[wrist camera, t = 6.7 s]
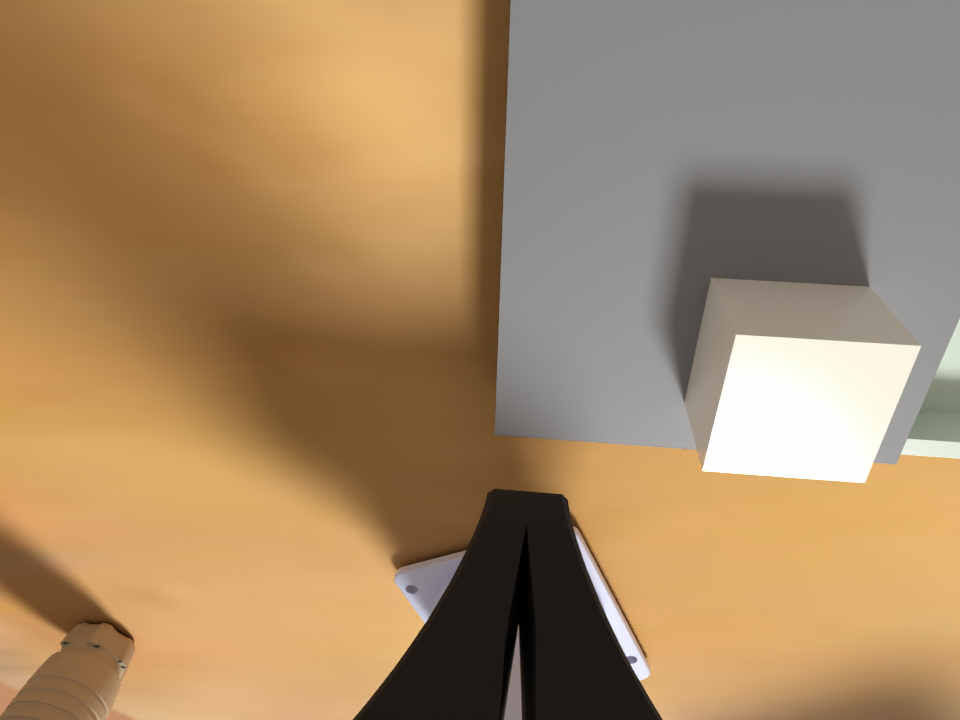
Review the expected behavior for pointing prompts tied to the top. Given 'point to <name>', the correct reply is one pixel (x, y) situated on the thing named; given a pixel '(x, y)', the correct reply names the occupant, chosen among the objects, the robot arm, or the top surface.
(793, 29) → the plate
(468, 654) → the robot arm
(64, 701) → the handle
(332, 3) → the top surface
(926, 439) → the tray
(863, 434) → the block
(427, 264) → the top surface
